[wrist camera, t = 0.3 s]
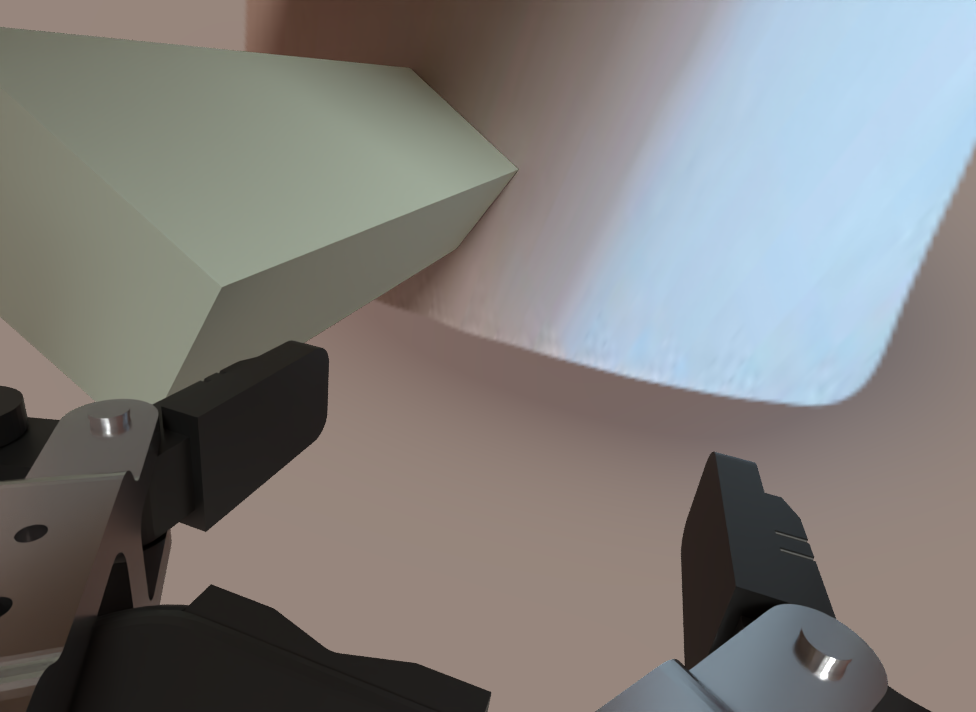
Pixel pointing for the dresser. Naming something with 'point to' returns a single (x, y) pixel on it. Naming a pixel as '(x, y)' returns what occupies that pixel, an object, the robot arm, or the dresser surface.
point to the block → (214, 200)
